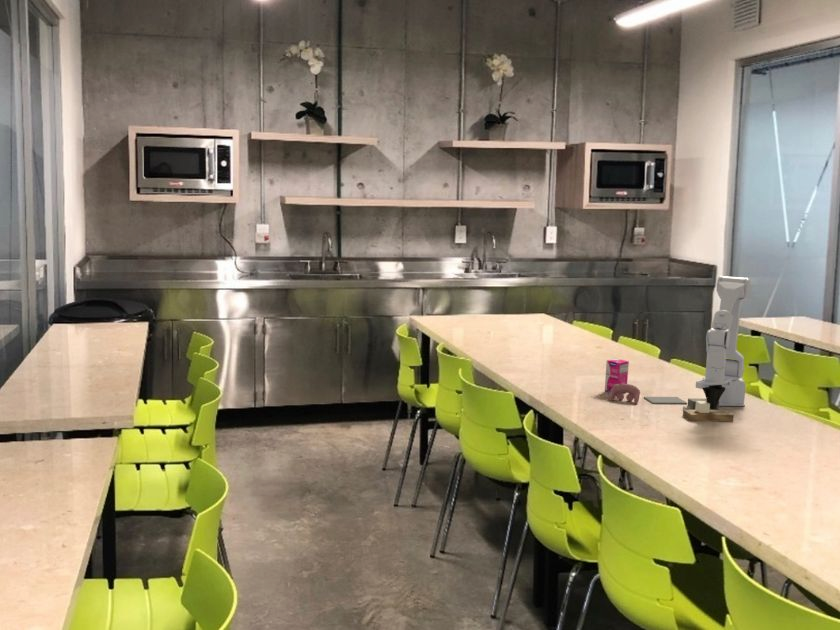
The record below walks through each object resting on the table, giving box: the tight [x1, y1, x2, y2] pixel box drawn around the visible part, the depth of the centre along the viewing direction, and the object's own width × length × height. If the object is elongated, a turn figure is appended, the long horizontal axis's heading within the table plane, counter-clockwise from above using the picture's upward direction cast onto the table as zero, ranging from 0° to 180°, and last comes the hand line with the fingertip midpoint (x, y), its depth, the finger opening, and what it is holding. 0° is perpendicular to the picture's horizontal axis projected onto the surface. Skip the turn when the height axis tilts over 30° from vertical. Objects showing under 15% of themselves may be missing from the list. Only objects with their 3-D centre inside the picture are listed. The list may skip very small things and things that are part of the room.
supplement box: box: [604, 358, 630, 393], centre depth 300 cm, size 6×6×12 cm
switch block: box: [682, 409, 734, 422], centre depth 268 cm, size 14×6×2 cm, turn 97°
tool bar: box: [682, 397, 720, 411], centre depth 278 cm, size 11×4×4 cm, turn 97°
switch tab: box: [695, 401, 710, 413], centre depth 268 cm, size 3×4×3 cm
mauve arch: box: [609, 383, 641, 405], centre depth 288 cm, size 10×5×7 cm, turn 66°
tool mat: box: [643, 396, 688, 405], centre depth 289 cm, size 12×8×1 cm, turn 97°
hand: (711, 408), depth 268 cm, fingers closed
